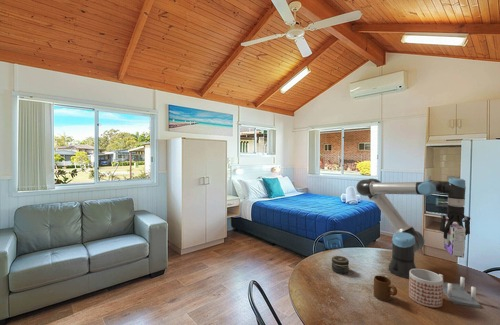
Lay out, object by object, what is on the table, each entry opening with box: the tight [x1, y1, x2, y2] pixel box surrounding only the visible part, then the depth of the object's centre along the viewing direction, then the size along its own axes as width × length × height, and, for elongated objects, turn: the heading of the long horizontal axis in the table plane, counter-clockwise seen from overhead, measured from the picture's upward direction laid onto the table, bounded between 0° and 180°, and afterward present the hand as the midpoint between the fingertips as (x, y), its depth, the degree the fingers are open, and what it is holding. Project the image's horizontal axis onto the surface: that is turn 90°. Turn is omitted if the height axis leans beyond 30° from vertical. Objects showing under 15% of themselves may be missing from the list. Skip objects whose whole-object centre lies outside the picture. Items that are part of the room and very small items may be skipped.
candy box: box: [443, 220, 467, 259], centre depth 140 cm, size 14×6×16 cm, turn 156°
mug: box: [373, 275, 398, 302], centre depth 121 cm, size 12×8×9 cm, turn 20°
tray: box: [438, 273, 482, 309], centre depth 127 cm, size 12×20×7 cm, turn 163°
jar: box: [331, 255, 350, 275], centre depth 151 cm, size 10×10×8 cm
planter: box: [408, 268, 444, 309], centre depth 122 cm, size 14×14×13 cm
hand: (454, 244), depth 141 cm, fingers closed on candy box, 6 cm apart
